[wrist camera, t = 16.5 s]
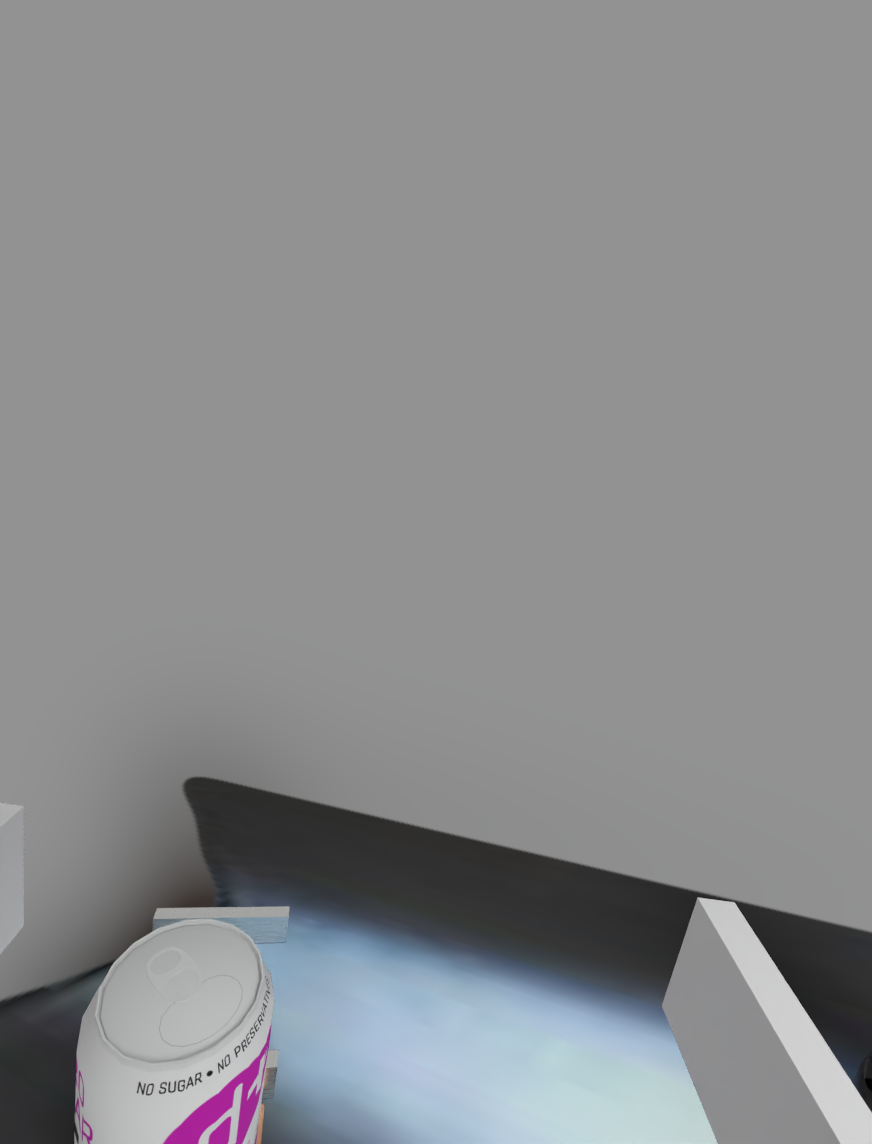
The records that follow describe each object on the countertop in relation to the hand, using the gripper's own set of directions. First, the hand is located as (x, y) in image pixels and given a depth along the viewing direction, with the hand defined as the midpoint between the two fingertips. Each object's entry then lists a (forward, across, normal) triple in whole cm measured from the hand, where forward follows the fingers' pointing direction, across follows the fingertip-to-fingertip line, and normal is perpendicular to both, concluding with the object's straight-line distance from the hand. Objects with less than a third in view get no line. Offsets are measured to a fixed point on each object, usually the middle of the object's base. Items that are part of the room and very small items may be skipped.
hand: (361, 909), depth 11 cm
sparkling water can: (+12, -7, -32) cm, 35 cm away
